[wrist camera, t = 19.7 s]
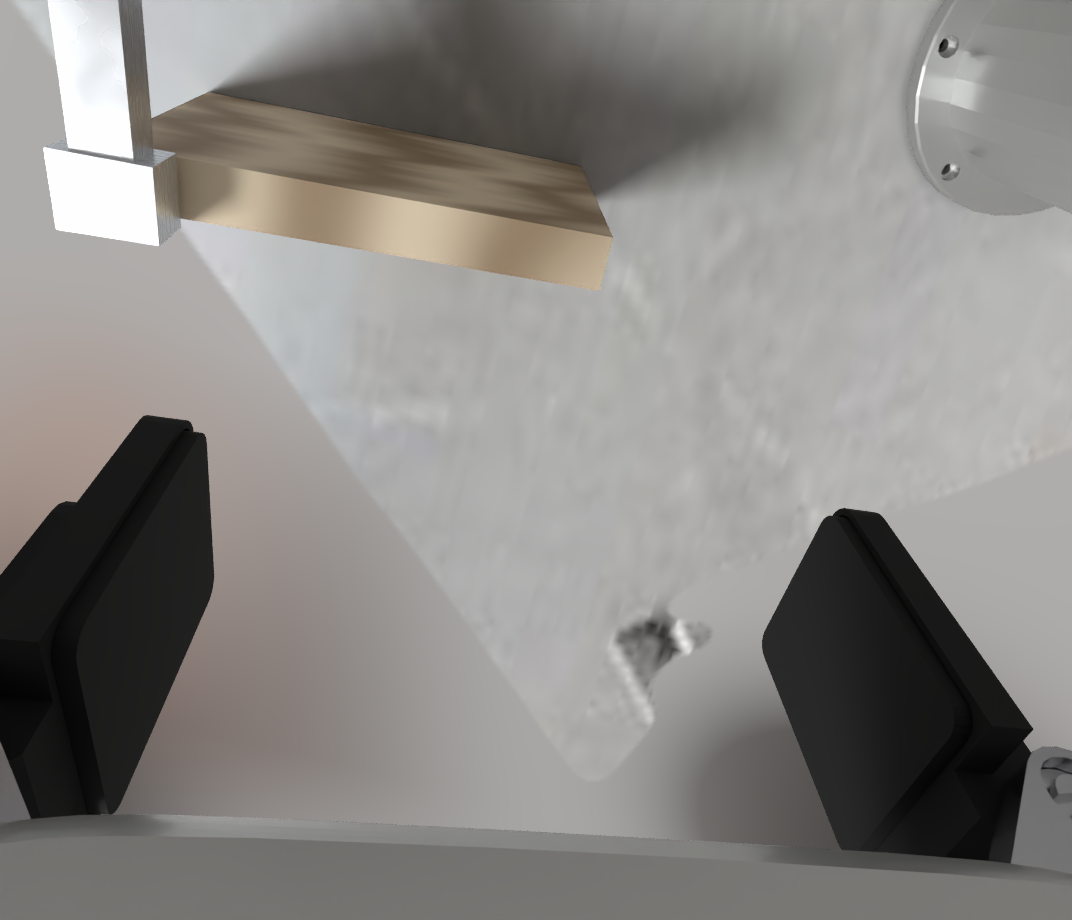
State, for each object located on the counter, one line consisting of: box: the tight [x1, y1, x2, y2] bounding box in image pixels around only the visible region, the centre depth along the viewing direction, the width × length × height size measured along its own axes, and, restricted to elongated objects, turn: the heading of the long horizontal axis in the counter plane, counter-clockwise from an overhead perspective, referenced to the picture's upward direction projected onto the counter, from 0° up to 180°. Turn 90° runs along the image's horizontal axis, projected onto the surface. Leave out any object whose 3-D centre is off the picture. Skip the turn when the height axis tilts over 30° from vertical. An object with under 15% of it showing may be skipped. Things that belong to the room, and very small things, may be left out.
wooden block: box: [151, 92, 613, 291], centre depth 30 cm, size 17×2×11 cm, turn 79°
